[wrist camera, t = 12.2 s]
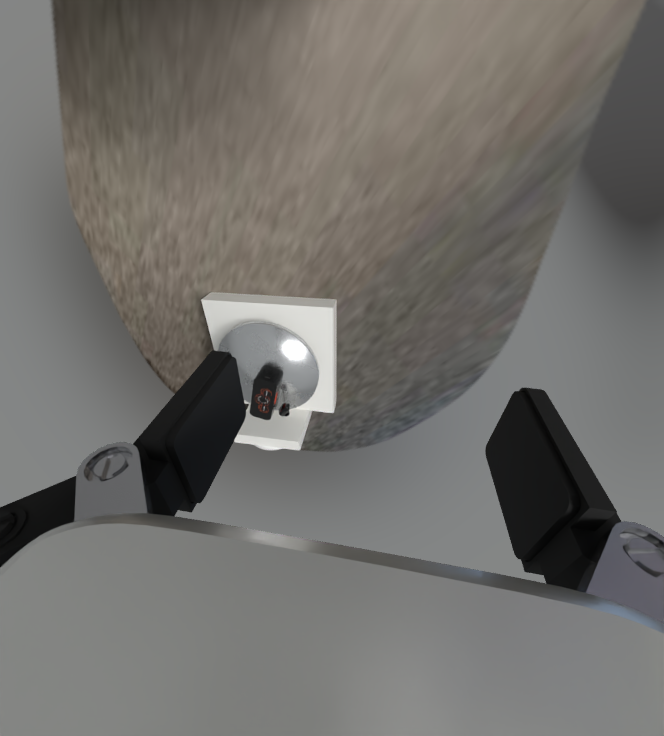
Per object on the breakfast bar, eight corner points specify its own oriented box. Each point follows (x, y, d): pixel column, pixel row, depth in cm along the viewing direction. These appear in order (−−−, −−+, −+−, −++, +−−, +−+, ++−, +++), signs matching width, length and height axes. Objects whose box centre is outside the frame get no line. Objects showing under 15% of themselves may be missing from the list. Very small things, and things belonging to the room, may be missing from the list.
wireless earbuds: (257, 402, 42) (248, 419, 40) (263, 361, 38) (254, 376, 35) (290, 412, 42) (283, 430, 40) (300, 372, 38) (293, 388, 35)
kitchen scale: (211, 292, 39) (170, 323, 32) (336, 299, 37) (322, 334, 30) (236, 401, 50) (210, 443, 42) (336, 412, 47) (325, 458, 40)
